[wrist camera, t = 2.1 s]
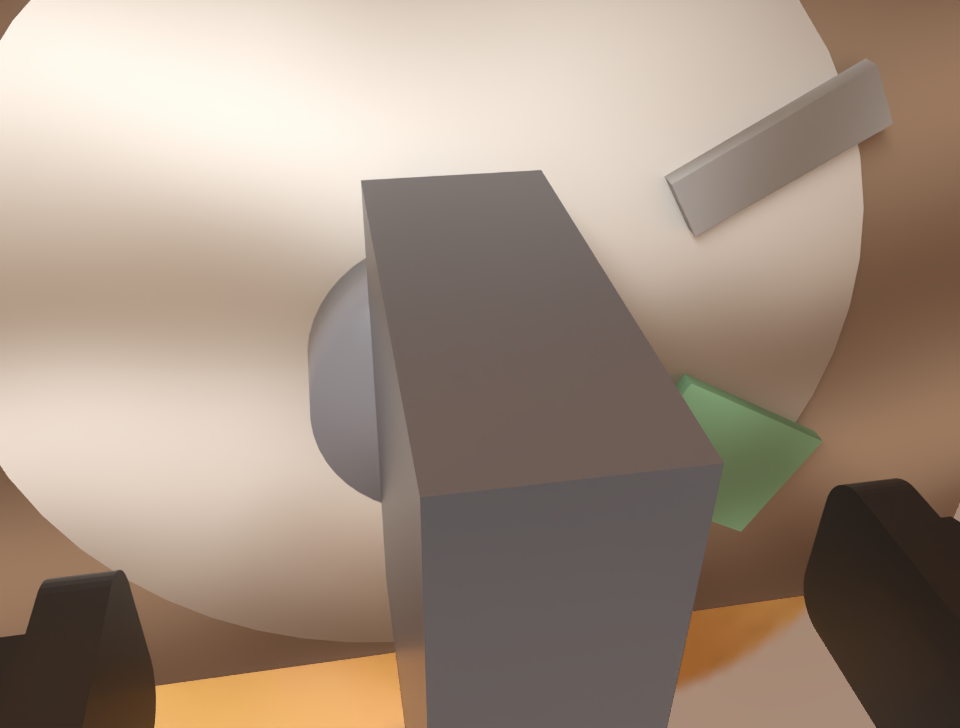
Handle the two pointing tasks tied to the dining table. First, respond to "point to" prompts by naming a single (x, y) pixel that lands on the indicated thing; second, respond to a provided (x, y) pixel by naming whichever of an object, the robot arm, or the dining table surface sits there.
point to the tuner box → (341, 245)
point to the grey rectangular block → (512, 459)
